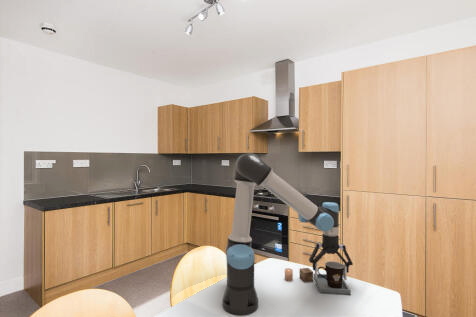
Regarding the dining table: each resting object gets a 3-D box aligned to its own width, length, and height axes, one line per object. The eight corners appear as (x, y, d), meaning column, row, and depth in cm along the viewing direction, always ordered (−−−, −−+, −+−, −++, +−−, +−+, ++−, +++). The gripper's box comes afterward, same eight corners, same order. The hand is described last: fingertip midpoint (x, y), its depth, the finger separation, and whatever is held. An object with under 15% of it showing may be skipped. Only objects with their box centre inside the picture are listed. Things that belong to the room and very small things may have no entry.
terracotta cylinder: (285, 281, 125) (285, 271, 125) (284, 277, 129) (284, 268, 129) (293, 281, 125) (292, 271, 125) (292, 278, 129) (292, 268, 129)
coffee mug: (345, 284, 121) (345, 263, 121) (342, 291, 114) (342, 270, 114) (321, 278, 127) (321, 258, 127) (316, 285, 120) (316, 264, 120)
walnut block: (304, 282, 124) (304, 272, 124) (299, 278, 129) (299, 268, 129) (313, 281, 125) (313, 271, 125) (308, 277, 130) (308, 267, 130)
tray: (319, 293, 114) (319, 288, 114) (313, 277, 129) (313, 273, 129) (350, 295, 112) (350, 290, 112) (340, 279, 127) (340, 275, 127)
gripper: (305, 235, 119) (305, 279, 118) (359, 237, 116) (359, 283, 115) (303, 231, 126) (303, 272, 126) (354, 233, 123) (354, 276, 123)
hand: (330, 278), depth 120 cm, fingers open, 13 cm apart
